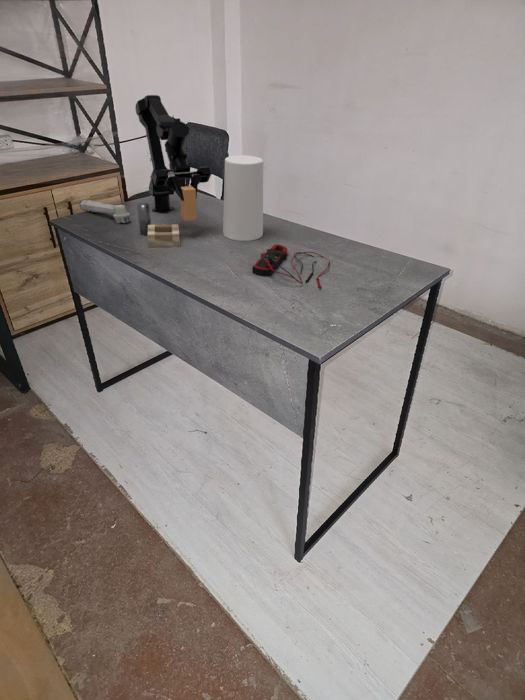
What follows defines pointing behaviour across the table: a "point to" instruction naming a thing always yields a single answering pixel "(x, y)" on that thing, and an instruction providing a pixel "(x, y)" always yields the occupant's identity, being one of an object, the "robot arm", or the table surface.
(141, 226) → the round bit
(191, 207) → the square bit
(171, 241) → the socket block
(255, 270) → the digital clamp meter
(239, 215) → the cylinder
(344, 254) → the table surface
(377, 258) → the table surface
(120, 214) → the grey knobbed rod
